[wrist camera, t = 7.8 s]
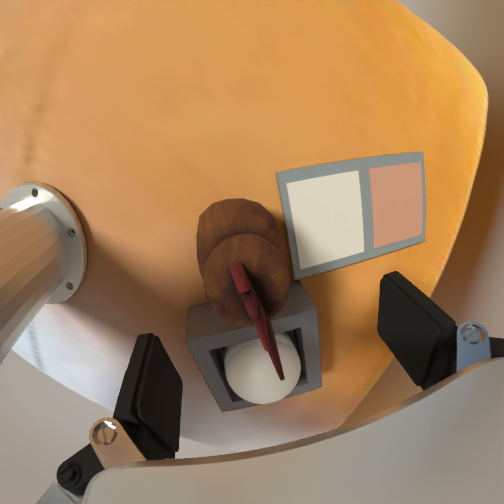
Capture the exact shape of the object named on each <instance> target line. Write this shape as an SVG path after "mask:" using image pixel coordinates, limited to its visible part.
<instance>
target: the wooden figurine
mask: <svg viewBox="0 0 504 504" xmlns="http://www.w3.org/2000/svg"><path fill="white" fill-rule="evenodd" d="M197 259H198V264H199V269H200V273H201V275H202V278H203V280H204V288H205V292H206V295H207V298H208V301H209V303H210V304H211V306H212V307H213V309H214V310H215V312H216V313H217V314H218V316H220V317H221V318H222V319H224V320H225V321H227V322H228V323H230V324H234V325H237V326H241V327H253V326H255V328H256V330H257V332H258V335H259V337H260V340H261V342H262V345H263V347H264V349H265V351H268V354H269V356H270V358H271V360H272V363H273V365H274V367H275V370H276V372H277V374H278V376H279V378H280V380H281V381H282V380H285V377H284V373H283V369H282V364H281V360H280V356H279V352H278V347H277V343H276V339H275V335H274V331H273V326H272V322H271V319H272V318H273V317H274V316H275V315H276V314H277V313H279V312H280V310H281V309H282V307H283V306H284V304H285V302H286V300H287V299H288V295H289V291H290V288H291V284H290V276H289V269H288V266H287V264H286V262H285V260H284V258H283V256H282V252H281V242H280V234H279V230H278V227H277V223H276V220H275V218H274V216H273V215H272V214H271V213H270V212H269V211H267V210H266V209H265V208H264V207H263V206H262V205H261V204H260V203H257V202H253V201H250V200H246V199H242V198H241V199H226V200H223V201H219V202H216V203H213V204H211V205H210V206H209V207H208V208H207V209H206V210H205V211H204V212H203V213H202V214H201V215H200V217H199V223H198V230H197Z"/></svg>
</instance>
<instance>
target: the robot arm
mask: <svg viewBox="0 0 504 504" xmlns="http://www.w3.org/2000/svg"><path fill="white" fill-rule="evenodd" d="M74 231H75V232H74ZM86 265H87V247H86V241H85V236H84V233H83V230H82V226H81V223H80V221H79V219H78V217H77V215H76V213H75V211H74V210H73V208H72V207H71V205H70V204H69V202H68V201H67V200H66V199H65V198H64V197H63V196H62V195H61V194H60V193H59V192H58V191H56V190H55V189H54V188H52V187H50V186H48V185H46V184H43V183H38V182H29V183H24V184H21V185H18V186H16V187H15V188H13V189H11V190H10V191H9V192H8V193H7V194H6V195H5V196H4V198H3V200H2V201H1V203H0V365H1V363H2V362H3V360H4V359H5V357H6V356H7V354H8V353H9V351H10V350H11V348H12V347H13V345H14V344H15V342H16V341H17V340H18V338H19V337H20V335H21V334H22V333H23V331H24V330H25V329H26V327H27V326H28V325H29V323H30V322H31V321H32V319H33V318H34V317H35V316H36V314H37V313H38V312H39V311H40V309H41V308H42V307H43V306H44V304H57V303H60V302H63V301H65V300H67V299H68V298H69V297H71V296H72V295H73V294H74V292H75V291H76V290H77V289H78V287H79V285H80V284H81V282H82V280H83V277H84V274H85V271H86ZM455 324H456V322H455V321H454V320H453V319H452V318H451V317H450V316H449V315H448V314H447V313H445V312H444V311H443V310H442V309H441V308H440V307H439V306H438V305H436V304H435V303H434V302H433V301H432V300H431V299H430V298H429V297H427V296H426V295H425V294H424V293H423V292H422V291H420V290H419V289H418V288H417V287H416V286H414V285H413V284H412V283H411V282H410V281H408V280H407V279H406V278H405V277H404V276H402V275H401V274H400V273H399V272H397V271H394V272H391V273H388V274H385V275H384V276H383V279H381V281H380V297H379V312H378V325H377V330H378V334H379V335H380V337H381V338H382V339H383V341H384V342H385V343H386V345H387V346H388V347H389V349H390V350H391V351H392V353H393V354H394V355H395V357H396V358H397V360H398V361H399V362H400V364H401V365H402V366H403V368H404V369H405V370H406V372H407V373H408V375H409V376H410V377H411V379H412V380H413V382H414V383H415V384H416V385H417V386H421V388H422V389H423V391H422V392H420V393H419V394H417V395H415V396H413V397H411V398H409V399H407V400H405V401H403V402H401V403H399V404H397V405H395V406H392V407H390V408H388V409H386V410H383V411H381V412H379V413H376V414H374V415H372V416H370V417H367V418H364V419H362V420H359V421H357V422H354V423H351V424H349V425H346V426H343V427H340V428H337V429H334V430H331V431H328V432H325V433H322V434H319V435H315V436H312V437H308V438H305V439H301V440H297V441H293V442H289V443H285V444H281V445H277V446H272V447H267V448H262V449H257V450H252V451H246V452H240V453H233V454H226V455H217V456H208V457H198V458H184V459H175V452H178V450H179V435H180V417H181V402H182V389H183V384H182V380H181V377H180V376H179V374H178V372H177V370H176V369H175V367H174V365H173V363H172V362H171V360H170V358H169V356H168V354H167V352H166V350H165V349H164V347H163V345H162V343H161V341H160V339H159V337H158V336H154V334H153V333H147V334H141V335H138V337H137V340H136V343H135V346H134V349H133V352H132V355H131V358H130V362H129V365H128V368H127V370H126V372H125V375H124V379H123V382H122V386H121V389H120V393H119V396H118V400H117V403H116V407H115V411H114V415H113V418H102V419H100V420H98V421H97V422H96V423H95V424H94V425H93V426H92V428H91V429H90V432H89V440H90V444H88V445H87V446H86V447H84V448H83V449H81V450H80V451H79V452H77V453H76V454H74V455H73V456H72V457H70V458H69V459H67V460H66V461H65V462H63V463H62V464H61V465H60V466H59V468H58V470H57V480H58V482H57V483H55V482H53V483H52V484H51V486H50V487H49V488H48V489H47V491H46V492H45V493H44V494H43V496H42V497H41V498H40V500H39V501H38V502H37V503H36V504H504V339H502V338H493V337H489V336H488V332H487V330H486V329H485V327H484V326H482V325H481V324H479V323H477V322H465V323H463V324H461V325H460V326H459V327H457V326H456V325H455ZM433 385H434V386H433ZM431 386H432V387H431Z"/></svg>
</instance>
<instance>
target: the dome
mask: <svg viewBox="0 0 504 504" xmlns="http://www.w3.org/2000/svg"><path fill="white" fill-rule="evenodd" d="M275 339H276V343H277V347H278V352H279V356H280V360H281V364H282V369H283V373H284V377H285V380H282V381H281V380H280V378H279V376H278V374H277V372H276V370H275V367H274V365H273V363H272V360H271V358H270V356H269V354H268V351H265V349H264V347H263V345H262V342H261V340H260V338H259V339H256V340H251V341H247V342H243V343H239V344H235V345H230V346H226V347H223V355H224V365H225V374H226V378H227V381H228V383H229V385H230V387H231V388H232V390H233V391H234V392H235V393H236V394H237V395H238V396H240V397H241V398H242V399H244V400H246V401H249V402H252V403H256V404H269V403H273V402H277V401H279V400H281V399H283V398H284V397H286V396H287V395H288V394H289V393H290V392H291V391H292V390H293V389H294V387H295V386H296V384H297V382H298V380H299V377H300V372H301V364H300V358H299V355H298V353H297V350H296V348H295V346H294V343H293V341H292V338H291V336H290V333H289V331H286V332H282V333H278V334H275Z"/></svg>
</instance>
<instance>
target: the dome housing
mask: <svg viewBox="0 0 504 504" xmlns="http://www.w3.org/2000/svg"><path fill="white" fill-rule="evenodd" d="M290 284H291V288H290V291H289V295H288V299H287V300H286V302H285V304H284V306H283V307H282V309H281V310H280V312H279V313H277V314H276V315H275V316H274V317H273V318H272V319H271V322H272V326H273V331H274V335H275V334H278V333H282V332H286V331H289V333H290V336H291V338H292V341H293V343H294V346H295V348H296V350H297V353H298V355H299V358H300V364H301V372H300V377H299V380H298V382H297V384H296V386H295V387H294V389H293V390H292V391H291V392H290V393H289V394H288V395H287V396H286V397H284V398H287V397H291V396H294V395H298V394H301V393H305V392H308V391H311V390H314V389H317V388H320V387H322V377H321V358H320V343H319V329H318V317H317V308H316V306H315V305H314V303H313V301H312V300H311V298H310V297H309V295H308V293H307V292H306V290H305V289H304V287H303V286H302V284H301V282H300V281H299V280H298V281H294V282H290ZM259 338H260V337H259V335H258V332H257V330H256V328H255V326H253V327H241V326H237V325H234V324H230V323H228V322H227V321H225V320H224V319H222V318H221V317H220V316H218V314H217V313H216V312H215V310H214V309H213V307H212V306H211V304H210V303H207V304H203V305H198V306H194V307H190V308H189V309H188V319H187V330H186V343H187V345H188V347H189V349H190V351H191V353H192V355H193V357H194V360H195V362H196V364H197V366H198V368H199V370H200V372H201V374H202V376H203V377H204V379H205V381H206V383H207V385H208V387H209V389H210V391H211V393H212V395H213V396H214V398H215V400H216V402H217V404H218V406H219V407H220V409H221V411H222V412H226V411H231V410H237V409H242V408H246V407H251V406H256V405H260V404H256V403H252V402H249V401H246V400H244V399H242V398H241V397H240V396H238V395H237V394H236V393H235V392H234V391H233V390H232V388H231V387H230V385H229V383H228V381H227V378H226V374H225V365H224V355H223V347H226V346H230V345H235V344H239V343H243V342H247V341H251V340H256V339H259ZM284 398H283V399H284Z"/></svg>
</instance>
